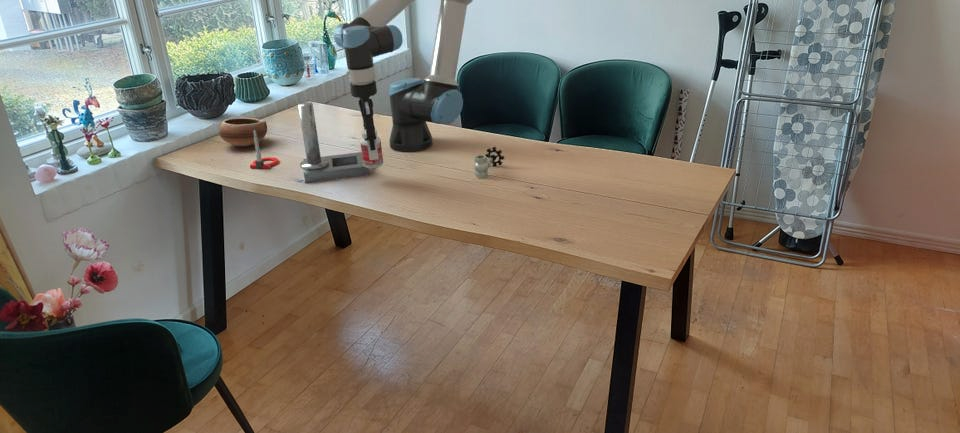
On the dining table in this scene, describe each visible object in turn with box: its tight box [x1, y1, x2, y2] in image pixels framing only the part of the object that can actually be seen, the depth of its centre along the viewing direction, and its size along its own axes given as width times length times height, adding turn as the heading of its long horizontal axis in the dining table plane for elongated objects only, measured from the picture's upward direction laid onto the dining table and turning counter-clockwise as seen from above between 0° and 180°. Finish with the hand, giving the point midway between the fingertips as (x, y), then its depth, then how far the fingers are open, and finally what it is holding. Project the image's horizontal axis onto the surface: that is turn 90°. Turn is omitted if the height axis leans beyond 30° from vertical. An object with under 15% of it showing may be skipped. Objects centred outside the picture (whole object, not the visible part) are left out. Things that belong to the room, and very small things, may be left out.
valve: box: [474, 146, 505, 180], centre depth 214 cm, size 7×7×12 cm
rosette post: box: [297, 101, 370, 184], centre depth 216 cm, size 21×14×23 cm, turn 103°
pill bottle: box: [359, 129, 384, 169], centre depth 208 cm, size 6×6×11 cm
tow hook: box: [249, 131, 280, 169], centre depth 228 cm, size 8×13×9 cm
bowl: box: [219, 117, 268, 147], centre depth 247 cm, size 16×16×10 cm
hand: (373, 155), depth 209 cm, fingers closed on pill bottle, 6 cm apart
